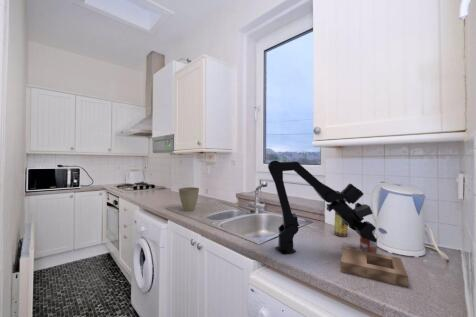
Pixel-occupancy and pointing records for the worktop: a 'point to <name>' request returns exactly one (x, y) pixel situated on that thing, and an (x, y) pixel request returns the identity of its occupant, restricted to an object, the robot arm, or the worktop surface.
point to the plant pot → (189, 197)
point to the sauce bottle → (340, 225)
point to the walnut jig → (374, 266)
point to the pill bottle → (368, 244)
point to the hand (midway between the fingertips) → (371, 238)
